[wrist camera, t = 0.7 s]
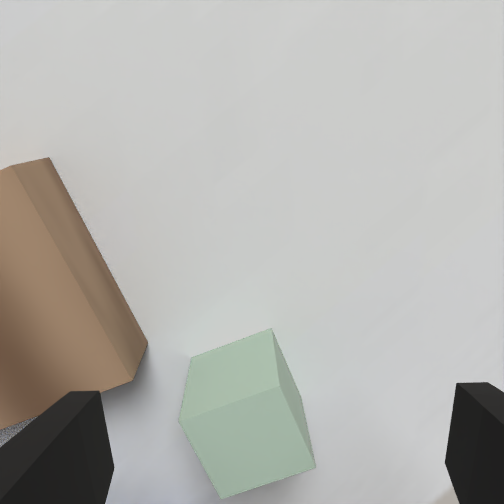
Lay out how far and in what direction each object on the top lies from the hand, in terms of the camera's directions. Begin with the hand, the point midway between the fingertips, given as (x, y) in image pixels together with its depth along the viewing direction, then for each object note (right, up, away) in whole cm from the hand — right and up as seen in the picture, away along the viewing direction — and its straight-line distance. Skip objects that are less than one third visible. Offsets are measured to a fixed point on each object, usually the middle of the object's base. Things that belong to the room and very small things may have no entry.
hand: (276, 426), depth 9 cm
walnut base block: (-11, +2, +10) cm, 15 cm away
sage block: (-1, -2, +12) cm, 12 cm away
